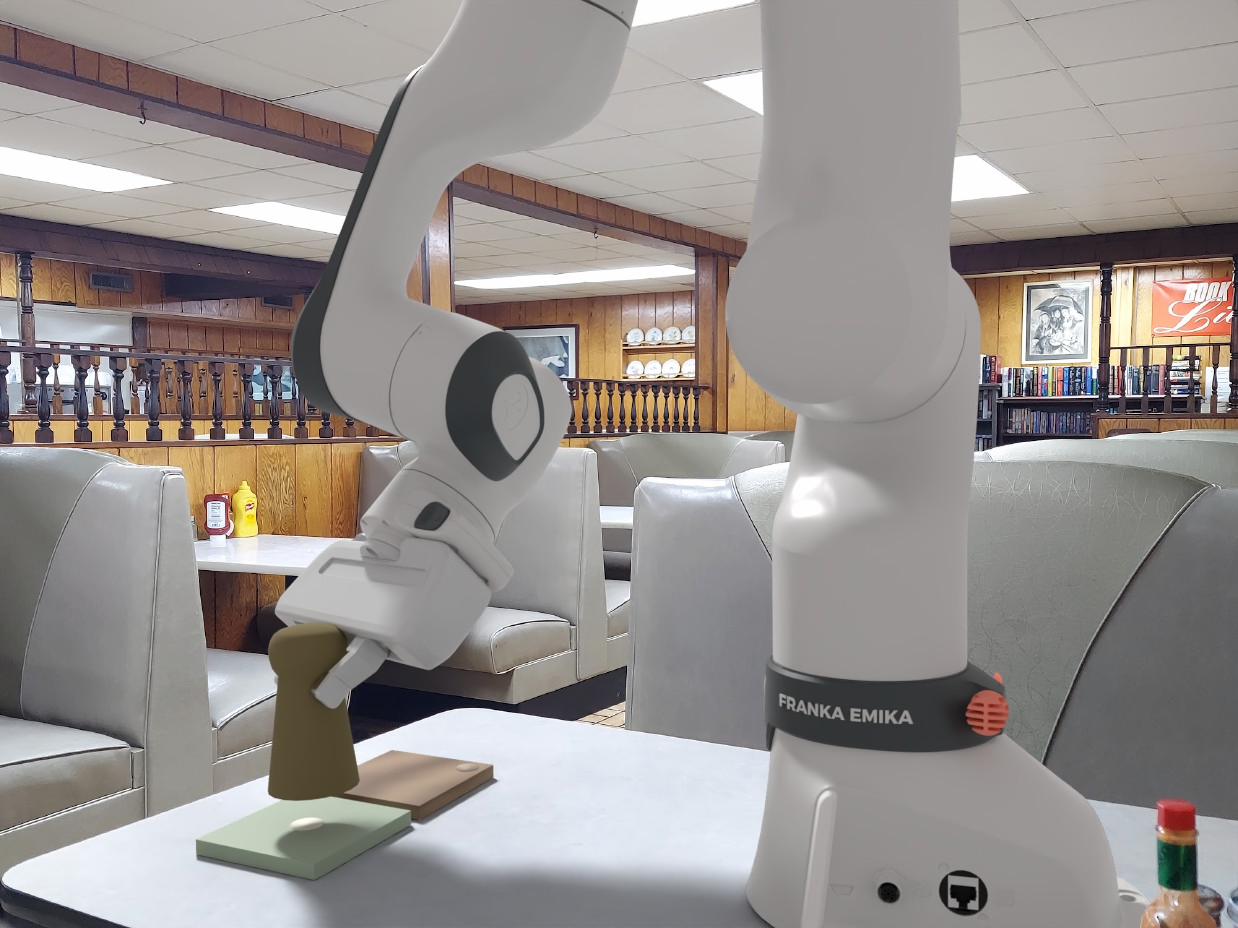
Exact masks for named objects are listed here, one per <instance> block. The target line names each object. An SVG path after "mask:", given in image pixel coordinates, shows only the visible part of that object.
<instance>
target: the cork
mask: <svg viewBox="0 0 1238 928" xmlns="http://www.w3.org/2000/svg"><path fill="white" fill-rule="evenodd" d="M347 648H348V643H347V639H346V636H345V634H344V633H343V632H341V630H339V629H338V628H337V627H336V626H333V625H331V624H325V623H303V624H297V625H292V626H289V627H288V626H287V627H283V628H280V629H279V630H277V631H276V632H275V633H273V635H272V637H271V639H270V640H269V644H268V649H267V653H268V654H267V655H268V661H269V663H270V667H271V670H272V671H273V672H274V674H275V676H276V675H277V676H278V683H277V685H276V695H275V707H274V717H273V718H274V719H273V729H272V740H271V749H270V761H269V774H268V784H267V792H268V793H267V794H268V795H269V796H270V797H271V798H273V799H277V800H280V801H281V800H290V801H303V800H315V799H321V798H327V797H331V796H335V795H339V794H342V793H344V792H347V791H349V790H351V789H353V788H354V787H356V786H357V785H358V783H359V781H360V779H359V773H358V767H357V766H358V762H357V758H356V752H355V751H356V750H355V746H354V740H353V739H354V738H353V733H352V729H351V724H350V717H349V711H348V707H347V701H346V700H347V699H346V697H345V698H344V699H343V701H342V702H341V703H340V705H339V706H338V707H336V708H334V709H332V708H328V707H326V706H324V705H321V704H320V703H319V702H317V701H316V700H315V699H313V698H312V697H311V696H310V695H309V689H310V687H311V686H312V684H313V683H315V682H316V679H317V678H318V677H319V676H320V675H321V674H322V673H323V672H325V671H326V672H329V671H330V670H331V669H332V668H333V667H334V666H335V665H336V664H337V663H338V662H339V661H340V660H341V659H342V658H343V657H344V656H345V655H346V654H348V653H349V652H348V651H347Z"/></svg>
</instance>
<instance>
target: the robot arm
mask: <svg viewBox="0 0 1238 928" xmlns="http://www.w3.org/2000/svg"><path fill="white" fill-rule="evenodd" d="M759 1H760V2H759V4H760V33H761V34H760V35H761V37H760V40H761V70H762V71H761V75H762V76H761V77H762V78H761V79H762V80H761V81H762V107H763V108H762V112H763V115H762V116H763V118H762V119H763V120H762V122H763V123H762V137H761V138H762V139H761V140H762V141H761V151H760V160H759V166H758V167H759V168H758V174H757V179H756V187H755V191H754V192H755V193H754V198H753V204H752V211H751V217H750V224H749V228H748V229H749V231H748V237H747V243H746V244H747V245H746V249H745V252H744V254H743V255H742V256H741V258H740V260H739V262H738V263H737V265H736V267H735V269H734V271H733V274H732V276H731V279H730V281H729V285H728V288H727V293H726V298H725V306H724V308H725V309H724V310H725V311H724V313H725V314H724V315H725V316H724V317H725V318H724V319H725V320H724V321H725V327H726V334H727V338H728V341H729V345H730V347H731V350H732V352H733V354H734V356H735V359H736V361H737V362H738V363H739V365H740V367H742V370H743V371H744V372H745V373H746V375H748V377H749V378H750V379H751V380H752V381H753V382H754V383H755V384H756V385H757V386H758V387H759V388H760V389H761V390H762V391H763V392H764V393H765V394H767V395H768V396H769V397H771V398H772V399H773V400H774V401H776V402H777V403H779V404H780V405H781V406H783V407H784V408H786V409H788V410H790V411H791V412H793V413H795V414H796V422H795V429H794V435H793V441H792V447H791V454H790V458H789V459H790V460H789V465H788V470H787V476H786V481H785V485H784V490H783V492H782V493H783V494H782V496H781V500H780V503H779V506H778V509H777V510H776V513H775V516H774V520H773V525H772V529H771V534H772V535H771V541H772V543H771V546H772V547H771V548H772V549H771V551H772V552H771V565H772V566H771V567H772V569H771V571H772V572H771V574H772V576H771V579H772V580H771V581H772V583H771V586H772V587H771V589H772V591H771V592H772V596H771V597H772V599H771V600H772V601H771V602H772V603H771V604H772V655H771V654H770V655H769V656H767V658H766V660H765V676H764V679H763V680H764V682H763V693H762V695H763V696H762V697H763V699H762V703H763V706H762V707H763V709H762V710H763V711H762V713H763V714H762V715H763V716H762V717H763V728H764V732H765V745H766V747H765V748H766V749H767V751H768V752H769V762H768V763H769V765H768V773H767V774H768V775H767V784H766V793H765V800H764V808H763V814H762V820H761V825H760V826H761V828H760V833H759V837H758V838H759V839H758V843H757V848H756V851H755V856H754V858H753V863H752V865H751V870H750V873H749V876H748V879H747V883H746V887H745V888H746V889H745V893H746V898H747V900H748V902H749V904H750V906H751V907H752V909H753V910H754V912H755V913H757V914H758V915H759V917H760V918H762V919H763V920H764V921H766V922H767V923H768V924H769V925H770V926H772V927H773V928H1140V923H1141V916H1142V915H1143V912H1144V910H1145V909H1146V907H1148V905H1149V904H1152V903H1151V901H1149V899H1148V898H1147V896H1145V894H1144V893H1142V892H1141V891H1140V890H1139V889H1138V888H1137V887H1136V886H1134V885H1132V884H1131V883H1130V882H1128V880H1127V881H1126V880H1125V879H1123V878H1122V877H1119V876H1117V870H1116V866H1115V865H1116V864H1115V860H1114V856H1113V852H1112V847H1111V844H1110V841H1109V838H1108V836H1107V832H1106V830H1105V827H1104V826H1103V823H1102V820H1101V819H1100V817H1099V815H1098V813H1097V812H1096V810H1095V809H1094V807H1093V806H1092V804H1091V803H1090V802H1089V800H1087V798H1085V796H1084V795H1082V794H1081V793H1079V792H1078V791H1077V790H1076V789H1074V788H1073V787H1072V786H1071V785H1070V784H1068V783H1067V782H1065V781H1064V780H1062V779H1061V777H1059V776H1058V775H1056V774H1055V773H1054V772H1052V771H1051V770H1050V769H1049V768H1048V767H1046V766H1045V765H1044V764H1043V763H1041V762H1040V761H1039V760H1038V759H1036V758H1035V757H1034V756H1032V755H1031V754H1030V753H1029V752H1027V751H1026V749H1024V748H1023V747H1021V746H1020V745H1019V744H1017V743H1016V742H1015V740H1013V739H1011V738H1010V737H1009V736H1008V735H1007V734H1005V733H1004V732H1005V728H1006V724H1007V722H1006V721H1007V719H1008V718H1009V715H1010V707H1009V704H1008V702H1007V697H1006V686H1004V684H1003V683H1004V681H1003V677H1002V676H1001V674H1000V673H999V672H995V673H994V676H993V677H992V676H991V675H990V674H988V673H987V672H985V671H984V670H983V669H981V668H980V667H978V666H976V665H975V664H974V663H972V662H970V661H969V660H968V535H969V533H968V531H969V527H968V526H969V513H970V500H971V492H972V482H973V472H974V461H975V460H974V459H975V450H976V449H975V448H976V447H975V446H976V434H977V422H978V408H979V407H978V406H979V393H980V392H979V391H980V389H979V388H980V374H981V373H980V369H981V367H980V366H981V347H982V346H981V345H982V344H981V343H982V323H981V321H982V320H981V314H980V310H979V306H978V303H977V300H976V298H975V296H974V293H973V291H972V289H971V288H970V286H969V285H968V283H967V282H966V280H965V279H964V278H963V277H962V276H961V275H960V274H959V273H958V272H957V271H956V270H955V269H954V268H953V267H952V262H951V261H952V260H951V250H950V248H951V247H950V246H951V245H950V235H951V234H950V233H951V213H952V212H951V208H952V196H953V195H952V193H953V192H952V191H953V180H954V167H955V158H956V157H955V155H956V149H957V147H956V146H957V137H958V131H959V127H960V124H961V120H962V90H961V86H962V85H961V83H962V82H961V57H960V56H961V54H960V51H961V50H960V21H959V20H960V19H959V17H960V16H959V15H960V14H959V0H759ZM638 2H639V0H462V2H461V4H460V6H459V9H458V10H457V11H458V12H457V14H456V15H455V17H454V20H453V22H452V24H451V26H450V28H449V30H448V31H447V33H446V34H445V36H444V37H443V40H442V41H441V43H440V44H439V46H438V47H437V48H436V50H435V52H433V54H432V56H430V58H429V59H428V60H427V61H426V62H425V64H423V65H421V66H420V67H418V68H416V69H414V70H413V71H411V73H410V74H409V75H408V76H407V77H406V78H405V79H404V80H403V82H402V83H401V85H400V86H399V88H398V89H397V92H396V93H395V96H394V97H393V100H392V101H391V104H390V105H389V107H388V110H387V112H386V114H385V115H384V119H383V121H382V124H381V126H380V128H379V131H378V134H377V135H376V138H375V141H374V144H373V146H372V149H371V151H370V153H369V156H368V159H367V161H366V164H365V167H364V169H363V171H362V174H361V176H360V179H359V183H358V184H357V187H356V190H355V193H354V195H353V197H352V199H351V202H350V204H349V208H348V211H347V213H346V216H345V219H344V221H343V224H342V226H341V228H340V231H339V234H338V237H337V239H336V243H335V245H334V247H333V250H332V251H331V252H332V253H331V255H330V257H329V259H328V262H327V264H326V266H325V268H324V271H323V273H322V275H321V277H320V278H319V280H318V282H317V283H316V285H315V287H314V289H313V290H312V292H311V293H310V295H309V297H308V298H307V300H306V302H305V303H304V305H303V307H302V309H301V311H300V312H299V314H298V317H297V318H296V321H295V323H294V325H293V328H292V334H291V336H290V337H291V339H290V347H289V349H290V350H289V351H290V360H291V367H292V370H293V374H294V377H295V381H296V383H297V386H298V388H299V390H300V392H301V394H302V396H303V397H304V398H305V400H306V401H307V402H308V403H309V404H310V405H311V406H312V407H314V408H315V409H316V410H319V411H321V412H324V413H326V414H330V415H334V416H338V417H341V418H343V419H344V418H345V419H348V420H352V421H354V422H355V421H356V422H359V423H366V424H368V425H370V426H372V427H376V428H377V429H380V430H382V431H384V432H387V433H389V434H392V435H395V436H397V437H400V438H401V439H404V440H406V441H409V442H413V444H414V445H415V448H416V450H418V456H417V457H415V458H414V459H413V460H412V461H410V462H408V463H407V464H405V465H404V466H403V467H402V468H401V469H400V470H399V471H398V473H397V474H395V476H394V477H393V479H391V481H390V482H389V484H388V485H387V486H385V488H384V490H382V492H381V493H380V494H379V496H378V497H377V498H376V500H375V501H374V502H372V504H371V506H370V507H369V508H368V509H367V510H366V512H365V513H364V514H363V516H362V517H361V518H360V520H359V525H360V529H361V533H358V534H356V535H355V537H354V538H352V539H350V540H349V539H340V540H337V541H335V542H333V543H332V544H330V545H328V546H327V547H326V548H325V549H323V550H322V551H321V552H320V553H319V554H318V556H316V557H315V558H314V559H313V560H312V561H311V562H310V564H309V565H307V567H306V568H305V569H304V570H303V571H302V572H301V573H300V574H299V575H298V576H297V578H296V579H295V580H294V581H293V582H291V584H290V586H288V587H287V588H286V590H285V591H284V592H283V593H282V594H281V596H280V597H279V599H278V601H277V603H276V606H275V609H274V615H276V617H277V618H278V619H280V620H281V621H282V622H283V623H284V624H285V625H286V626H287V627H289V626H292V625H297V624H303V623H325V624H331V625H333V626H336V627H337V628H338V629H339V630H341V632H343V633H344V634H345V636H346V639H347V643H348V648H347V651H348V654H346V655H345V656H344V657H343V658H342V659H341V660H340V661H339V662H338V663H337V664H336V665H335V666H334V667H333V668H332V669H331V670H330V671H329V672H326V671H325V672H323V673H322V674H321V675H320V676H319V677H318V678H317V679H316V682H315V683H313V684H312V686H311V687H310V689H309V695H310V696H311V697H312V698H313V699H315V700H316V701H317V702H319V703H320V704H321V705H324V706H326V707H328V708H332V709H334V708H336V707H338V706H339V705H340V703H341V702H342V701H343V699H344V698H345V699H346V696H347V695H348V694H349V693H350V691H351V690H354V688H356V687H357V686H358V685H360V684H361V683H363V682H365V681H366V680H367V679H368V678H369V677H371V676H372V675H373V674H375V673H377V671H378V670H379V668H380V667H381V666H382V664H383V663H384V662H385V661H386V660H387V661H392V662H396V663H398V664H404V665H407V666H411V667H414V668H419V669H423V670H427V671H431V670H433V669H435V668H436V667H438V666H439V665H441V664H443V663H444V662H446V660H448V659H449V658H451V657H452V655H453V654H454V653H455V652H456V651H457V649H458V648H459V647H460V646H461V644H462V643H463V642H464V640H465V639H466V637H468V636H469V634H470V633H471V631H472V630H473V628H474V627H475V626H476V624H477V623H478V621H479V620H480V618H481V617H482V616H483V614H484V612H485V611H486V610H487V607H488V606H489V604H490V601H491V598H492V592H493V593H495V592H496V593H497V592H499V591H501V590H502V589H504V588H505V587H506V586H507V584H508V583H510V582H509V581H511V579H512V577H513V576H514V574H515V569H514V567H513V566H512V564H511V563H510V562H509V561H508V560H507V558H506V557H505V556H504V555H503V554H502V553H501V552H500V551H499V549H498V548H497V547H496V546H495V545H494V543H495V541H496V540H497V537H498V536H499V534H500V531H501V528H502V524H503V522H504V521H505V518H506V517H507V516H508V515H509V513H510V512H512V510H513V511H514V509H515V508H517V507H518V506H519V505H520V504H521V503H523V502H524V501H525V500H526V498H527V497H528V496H529V495H530V493H531V491H532V490H533V489H534V487H535V486H536V485H537V483H538V481H539V480H540V479H541V477H542V476H543V474H544V473H545V471H546V469H547V468H548V466H549V465H550V462H552V459H553V458H554V456H555V454H556V452H557V450H558V449H559V447H560V445H561V443H562V441H563V439H564V437H565V434H566V432H567V430H568V428H569V425H570V421H571V418H572V414H573V413H572V412H573V409H572V403H571V398H570V395H569V393H568V390H567V389H566V387H565V385H564V383H563V382H562V380H561V379H560V378H559V377H558V375H557V374H556V373H555V372H554V371H553V370H552V369H551V368H550V367H548V366H547V365H546V364H544V363H543V362H541V361H539V360H538V359H536V358H534V357H531V356H528V353H527V351H526V349H525V347H524V346H523V344H522V342H521V341H520V340H519V339H518V338H517V337H516V336H515V335H513V334H511V333H509V332H508V331H505V330H503V329H501V328H499V327H496V326H494V325H491V324H488V323H486V322H483V321H480V320H477V319H474V318H472V317H468V316H466V315H463V314H460V313H457V312H451V311H447V310H444V309H442V308H438V307H436V306H432V305H429V304H427V303H424V302H420V301H418V300H415V299H412V298H409V296H408V294H407V292H408V291H407V282H408V278H409V277H410V273H411V271H412V268H413V266H414V263H415V261H416V258H417V255H418V253H419V251H420V248H421V246H422V243H423V241H424V239H425V236H426V234H427V231H428V229H429V226H430V223H431V222H432V219H433V216H434V214H435V211H436V209H437V207H438V204H439V202H440V199H441V197H442V195H443V193H444V192H445V190H446V189H447V187H448V186H449V184H450V183H451V182H452V181H453V180H454V179H455V178H456V177H457V176H459V174H461V173H462V172H464V171H466V170H467V169H468V168H470V167H472V166H474V165H476V164H479V163H481V162H484V161H486V160H488V159H492V158H495V157H496V158H497V157H500V156H504V155H507V154H508V155H509V154H515V153H520V152H525V151H530V150H536V149H540V148H543V147H548V146H550V145H553V144H555V143H559V142H561V141H562V140H565V139H567V138H568V137H571V136H573V135H574V134H575V133H577V132H579V131H580V130H582V129H583V128H584V127H586V126H587V125H588V124H589V123H590V122H592V120H594V119H595V118H596V117H597V116H598V115H599V114H600V113H601V111H602V110H603V109H604V106H605V105H606V103H607V102H608V100H609V97H610V95H611V93H612V91H613V89H614V86H615V84H616V82H617V79H618V76H619V73H620V70H621V67H622V62H623V59H624V56H625V52H626V49H627V48H626V47H627V44H628V40H629V37H630V33H631V30H632V25H633V22H634V18H635V14H636V10H637V7H638V6H637V5H638ZM273 681H274V684H275V686H277V683H278V676H277V675H276V674H275V675H274V678H273Z"/></svg>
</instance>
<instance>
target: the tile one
mask: <svg viewBox="0 0 1238 928" xmlns="http://www.w3.org/2000/svg"><path fill="white" fill-rule="evenodd" d="M409 826H412V818H411V810H405V809H399V808H393V807H388V806H382V805H376V804H371V803H365V802H359V801H353V800H348V799H342V798H336V797H327V798H321V799H315V800H303V801H290V800H281V799H280V800H279V801H277V802H275V803H272V804H271V805H269V806H268V805H267V806H266V807H263V808H261V809H260V810H257V811H254V812H253V813H250V814H249V815H246V816H244V817H241V818H239V819H237V820H235V821H232V822H231V823H228V824H226V825H224V826H222V827H219V828H218V829H216V830H213V831H211V832H209V833H206V834H204V835H202V836H200V837H197V838H195V855H198V856H203V857H207V858H211V859H216V860H220V861H221V860H222V861H226V862H230V863H234V864H238V865H242V866H243V865H245V866H248V867H253V868H258V869H262V870H266V871H271V872H274V873H275V872H276V873H280V874H285V875H289V876H294V877H297V878H302V879H306V880H311V881H315V880H317V879H319V878H320V877H323V876H325V875H326V874H328V873H329V872H331V871H333V870H335V869H336V868H338V867H340V866H342V865H343V864H345V863H347V862H349V861H350V860H352V859H354V858H356V857H357V856H359V855H360V854H363V853H364V852H366V851H368V850H369V849H371V848H373V847H374V846H377V845H378V844H380V843H382V842H383V841H384V840H387V839H390V837H392V836H394V835H395V834H397V833H399V832H401V831H402V830H404V829H406V828H408V827H409Z"/></svg>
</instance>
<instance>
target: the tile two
mask: <svg viewBox="0 0 1238 928" xmlns="http://www.w3.org/2000/svg"><path fill="white" fill-rule="evenodd" d="M357 767H358V773H359V779H360V781H359V783H358V785H357V786H356V787H354V788H353V789H351V790H349V791H347V792H344V793H342V794H339V795H335V796H331V797H336V798H342V799H348V800H353V801H359V802H365V803H371V804H376V805H382V806H388V807H393V808H399V809H405V810H411V819H415V820H419V821H420V820H422V819H424V818H425V817H427V816H429V815H430V814H432V813H434V812H436V811H437V810H439V809H440V808H441V809H442V807H444V806H446V805H448V804H450V803H451V802H452V801H455V800H457V799H458V798H459V797H461V796H463V795H465V794H467V793H468V792H470V791H472V790H473V789H476V788H477V787H479V786H480V785H482V784H484V783H486V782H488V781H490V780H491V779H493V778H494V777H495V776H494V764H491V763H482V762H477V761H471V760H464V759H457V758H450V757H443V756H435V755H430V754H422V753H415V752H408V751H402V750H397V749H396V750H395V749H391V750H389V751H386V752H384V753H382V754H380V755H378V756H376V757H375V756H374V757H373V758H371V759H369V760H366V761H365V762H363V763H360V764H357Z"/></svg>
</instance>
